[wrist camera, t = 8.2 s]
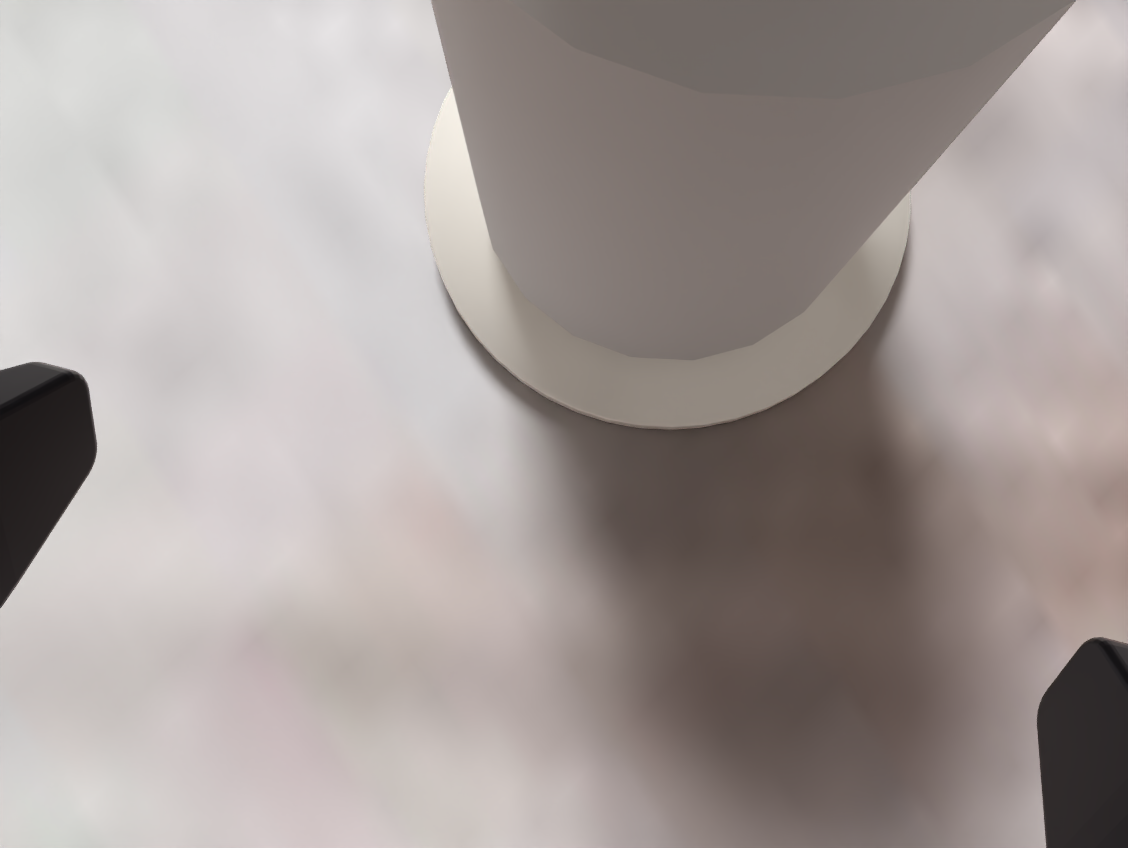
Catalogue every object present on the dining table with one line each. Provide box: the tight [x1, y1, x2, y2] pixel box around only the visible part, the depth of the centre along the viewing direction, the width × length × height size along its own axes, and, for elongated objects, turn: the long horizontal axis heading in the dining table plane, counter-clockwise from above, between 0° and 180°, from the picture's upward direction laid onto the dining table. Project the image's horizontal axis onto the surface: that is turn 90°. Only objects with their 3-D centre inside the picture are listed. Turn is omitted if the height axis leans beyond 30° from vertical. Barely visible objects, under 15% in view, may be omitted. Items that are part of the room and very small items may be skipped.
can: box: [431, 0, 1076, 360], centre depth 13 cm, size 8×8×12 cm
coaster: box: [424, 87, 911, 430], centre depth 19 cm, size 10×10×1 cm
